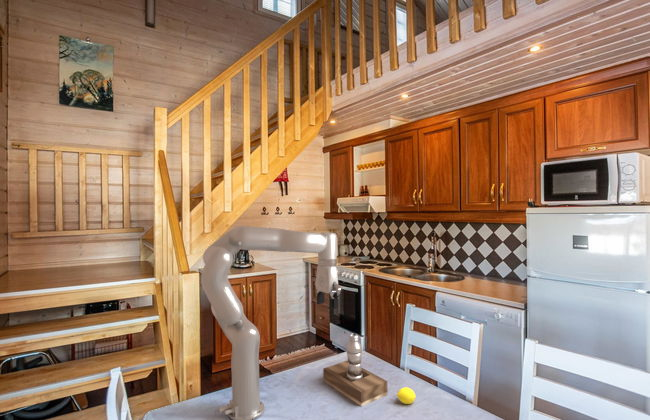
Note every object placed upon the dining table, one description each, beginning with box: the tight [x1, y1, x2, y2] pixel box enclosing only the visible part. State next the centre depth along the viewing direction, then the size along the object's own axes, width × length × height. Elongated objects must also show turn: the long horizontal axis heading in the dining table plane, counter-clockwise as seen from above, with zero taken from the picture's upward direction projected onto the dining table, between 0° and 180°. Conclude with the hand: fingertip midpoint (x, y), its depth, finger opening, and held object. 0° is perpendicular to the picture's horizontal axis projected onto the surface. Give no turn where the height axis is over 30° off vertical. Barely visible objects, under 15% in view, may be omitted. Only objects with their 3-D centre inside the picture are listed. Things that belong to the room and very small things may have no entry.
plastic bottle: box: [345, 332, 363, 382], centre depth 139 cm, size 6×7×20 cm
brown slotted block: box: [322, 359, 389, 407], centre depth 140 cm, size 13×24×5 cm, turn 35°
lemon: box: [396, 386, 417, 405], centre depth 128 cm, size 7×5×5 cm
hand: (327, 306), depth 142 cm, fingers open, 9 cm apart
